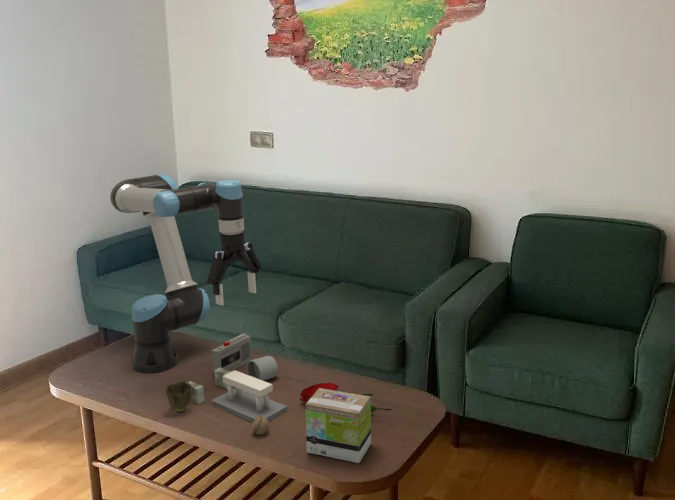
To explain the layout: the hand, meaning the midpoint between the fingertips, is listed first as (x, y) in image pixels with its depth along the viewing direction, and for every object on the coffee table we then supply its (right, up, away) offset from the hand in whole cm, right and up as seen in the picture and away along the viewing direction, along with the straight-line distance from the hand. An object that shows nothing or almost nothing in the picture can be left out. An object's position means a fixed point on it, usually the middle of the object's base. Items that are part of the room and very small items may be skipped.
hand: (236, 298), depth 216 cm
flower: (+34, -33, -13) cm, 49 cm away
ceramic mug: (+6, -27, +10) cm, 30 cm away
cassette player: (-4, -25, +19) cm, 32 cm away
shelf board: (+5, -25, -11) cm, 28 cm away
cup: (-15, -33, -9) cm, 38 cm away
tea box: (+32, -38, -32) cm, 59 cm away
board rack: (-8, -30, +1) cm, 31 cm away
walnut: (+10, -36, -23) cm, 44 cm away
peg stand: (+5, -32, -9) cm, 33 cm away
